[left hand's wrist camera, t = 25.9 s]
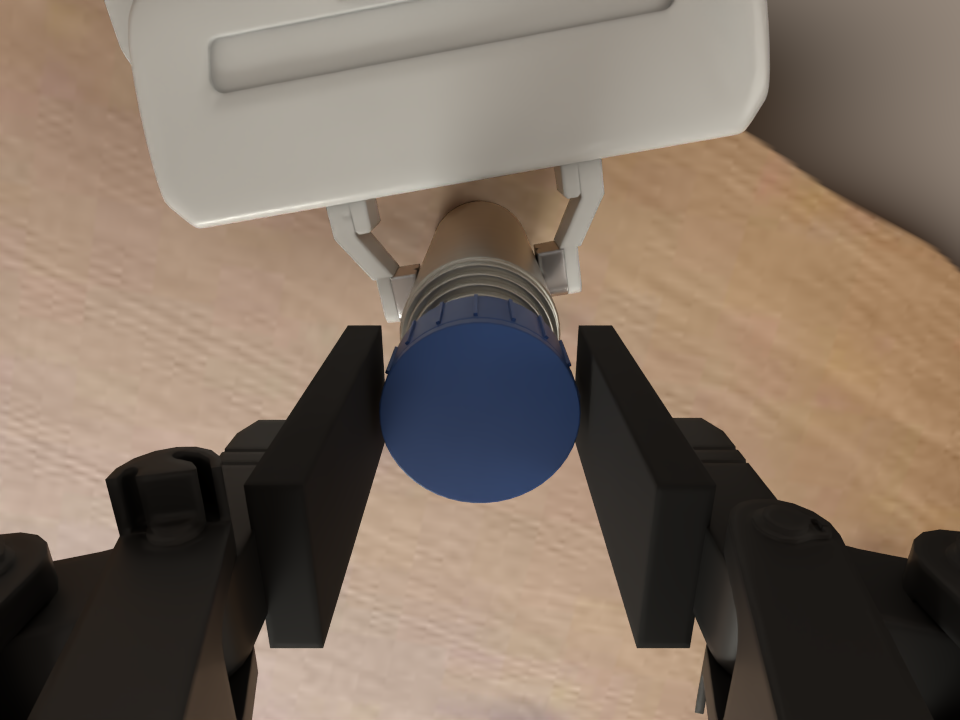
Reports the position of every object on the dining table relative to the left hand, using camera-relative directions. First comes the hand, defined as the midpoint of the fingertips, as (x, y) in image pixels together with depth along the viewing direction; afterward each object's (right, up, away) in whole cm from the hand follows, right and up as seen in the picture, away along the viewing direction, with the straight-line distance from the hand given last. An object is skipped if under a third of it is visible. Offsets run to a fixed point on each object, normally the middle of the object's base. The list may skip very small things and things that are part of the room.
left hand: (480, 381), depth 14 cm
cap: (0, -1, -2) cm, 2 cm away
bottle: (0, +6, +15) cm, 16 cm away
